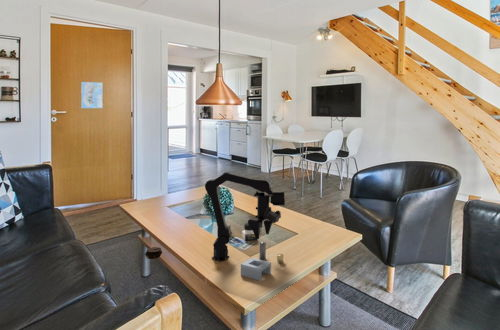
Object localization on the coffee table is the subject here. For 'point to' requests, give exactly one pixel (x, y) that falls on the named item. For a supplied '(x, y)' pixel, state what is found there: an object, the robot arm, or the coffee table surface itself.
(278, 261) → the short pin
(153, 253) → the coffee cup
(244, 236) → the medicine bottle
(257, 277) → the frame
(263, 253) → the long pin
